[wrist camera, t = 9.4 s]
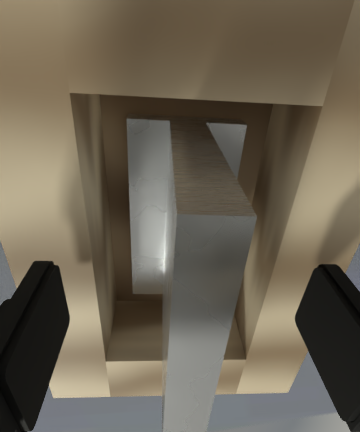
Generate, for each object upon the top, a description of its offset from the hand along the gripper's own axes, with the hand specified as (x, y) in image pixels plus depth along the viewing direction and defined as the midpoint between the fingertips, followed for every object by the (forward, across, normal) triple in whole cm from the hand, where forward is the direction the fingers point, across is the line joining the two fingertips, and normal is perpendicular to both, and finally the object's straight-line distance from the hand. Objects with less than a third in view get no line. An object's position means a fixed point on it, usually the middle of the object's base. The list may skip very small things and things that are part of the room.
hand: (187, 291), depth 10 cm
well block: (+6, 0, 0) cm, 6 cm away
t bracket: (+5, 0, 0) cm, 5 cm away
